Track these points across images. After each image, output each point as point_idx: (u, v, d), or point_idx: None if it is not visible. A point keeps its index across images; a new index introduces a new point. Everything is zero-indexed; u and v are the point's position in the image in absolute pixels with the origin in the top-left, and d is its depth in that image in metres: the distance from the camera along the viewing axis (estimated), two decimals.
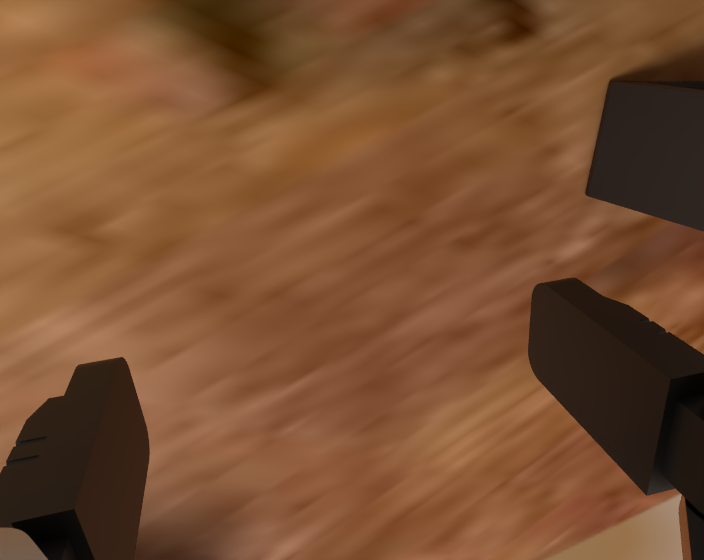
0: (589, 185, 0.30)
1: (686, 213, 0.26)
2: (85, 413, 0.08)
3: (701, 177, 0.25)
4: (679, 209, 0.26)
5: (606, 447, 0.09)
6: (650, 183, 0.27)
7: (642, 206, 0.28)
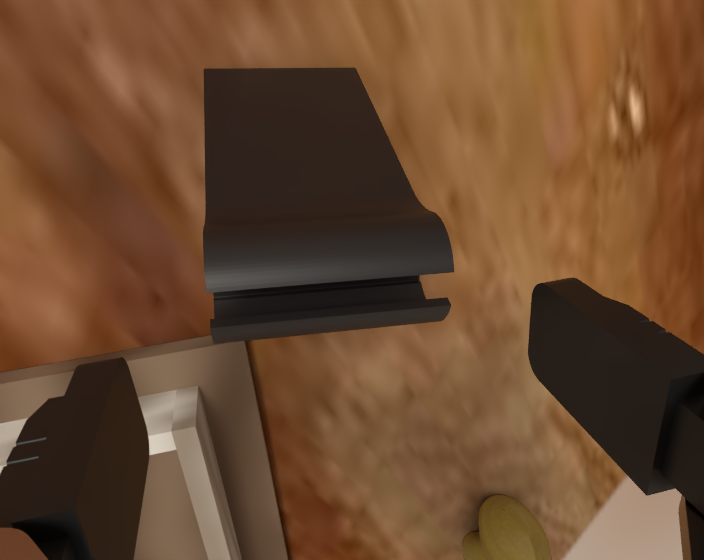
0: None
1: (223, 139, 0.17)
2: (85, 413, 0.08)
3: (280, 140, 0.18)
4: (226, 133, 0.18)
5: (606, 447, 0.09)
6: (249, 108, 0.19)
7: (213, 107, 0.19)
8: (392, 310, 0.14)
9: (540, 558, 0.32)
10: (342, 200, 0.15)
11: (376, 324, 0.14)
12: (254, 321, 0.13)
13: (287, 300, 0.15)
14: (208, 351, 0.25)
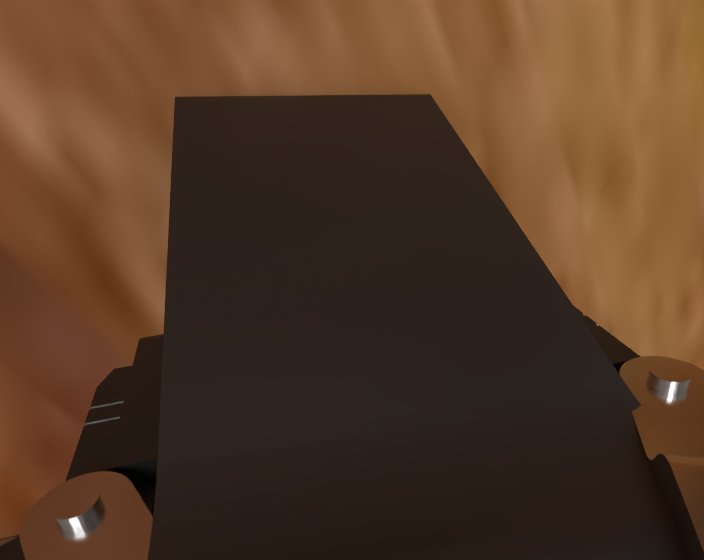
0: None
1: (206, 252, 0.08)
2: (156, 378, 0.09)
3: (322, 251, 0.09)
4: (212, 236, 0.09)
5: None
6: (258, 176, 0.10)
7: (189, 175, 0.10)
8: None
9: None
10: (485, 429, 0.07)
11: None
12: None
13: None
14: None
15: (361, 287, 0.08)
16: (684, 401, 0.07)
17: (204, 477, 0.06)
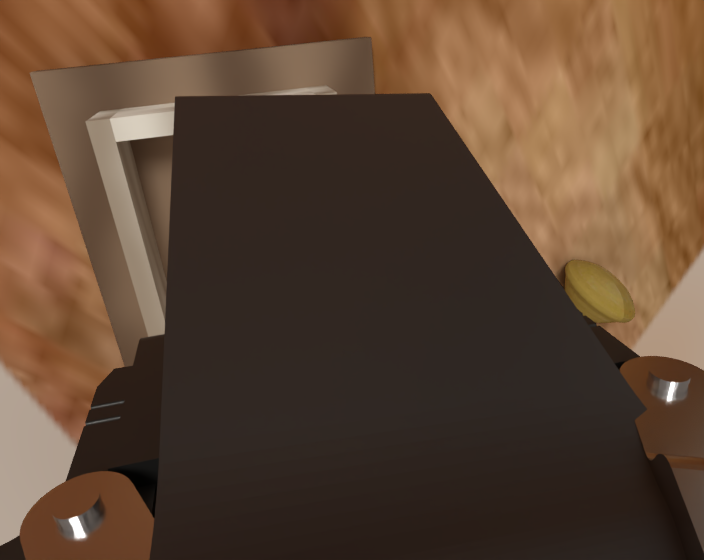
0: (202, 96, 0.12)
1: (207, 251, 0.08)
2: (156, 378, 0.09)
3: (323, 250, 0.09)
4: (212, 236, 0.09)
5: None
6: (257, 175, 0.10)
7: (189, 174, 0.10)
8: None
9: (627, 301, 0.34)
10: (487, 427, 0.07)
11: None
12: None
13: None
14: (338, 46, 0.27)
15: (362, 286, 0.08)
16: (684, 401, 0.07)
17: (205, 477, 0.06)
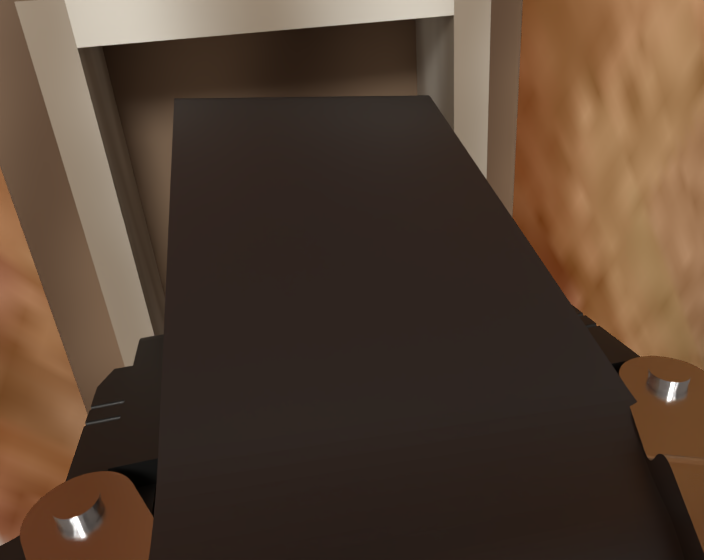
0: (201, 98, 0.12)
1: (206, 254, 0.08)
2: (156, 378, 0.09)
3: (322, 253, 0.09)
4: (211, 239, 0.09)
5: None
6: (256, 178, 0.10)
7: (188, 177, 0.10)
8: None
9: None
10: (485, 431, 0.07)
11: None
12: None
13: None
14: None
15: (361, 289, 0.08)
16: (684, 401, 0.07)
17: (204, 481, 0.06)
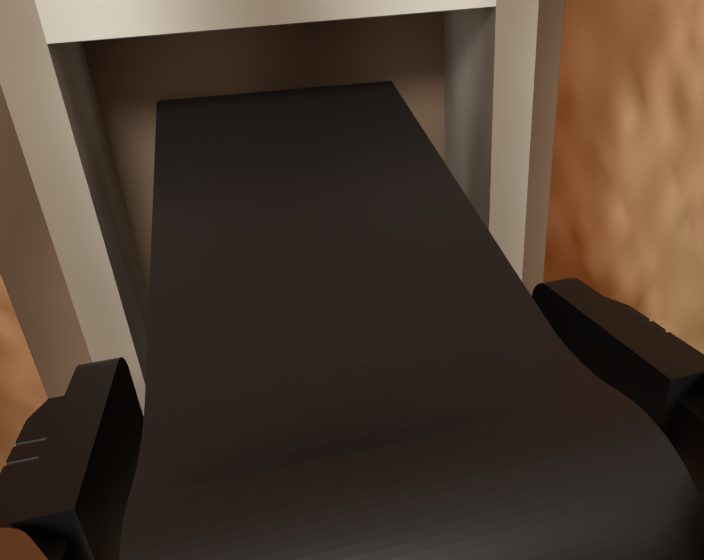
0: None
1: (185, 234, 0.10)
2: (85, 413, 0.08)
3: (286, 227, 0.10)
4: (190, 220, 0.10)
5: None
6: (230, 166, 0.11)
7: (169, 169, 0.11)
8: None
9: None
10: (420, 362, 0.08)
11: None
12: None
13: None
14: None
15: (319, 255, 0.09)
16: None
17: (183, 411, 0.07)
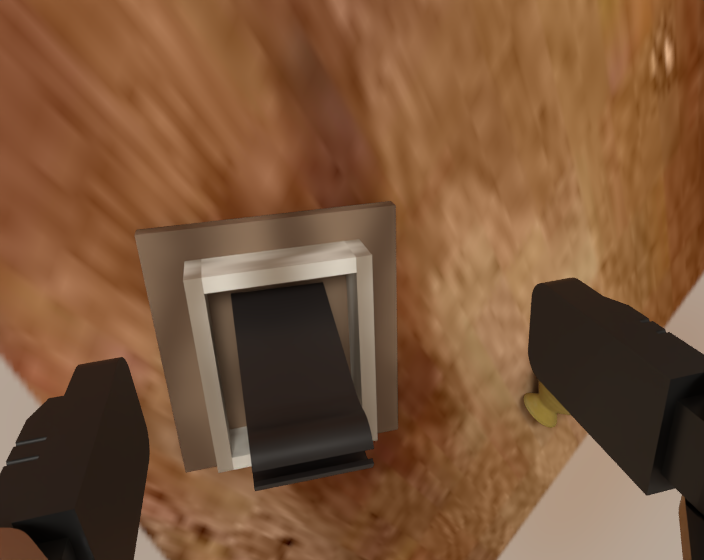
0: (240, 293, 0.35)
1: (249, 358, 0.31)
2: (85, 413, 0.08)
3: (281, 356, 0.31)
4: (250, 353, 0.31)
5: (607, 447, 0.09)
6: (261, 329, 0.32)
7: (240, 330, 0.32)
8: (343, 469, 0.27)
9: None
10: (317, 402, 0.29)
11: (336, 474, 0.27)
12: (275, 481, 0.26)
13: None
14: (370, 212, 0.35)
15: (291, 366, 0.31)
16: None
17: (255, 414, 0.28)
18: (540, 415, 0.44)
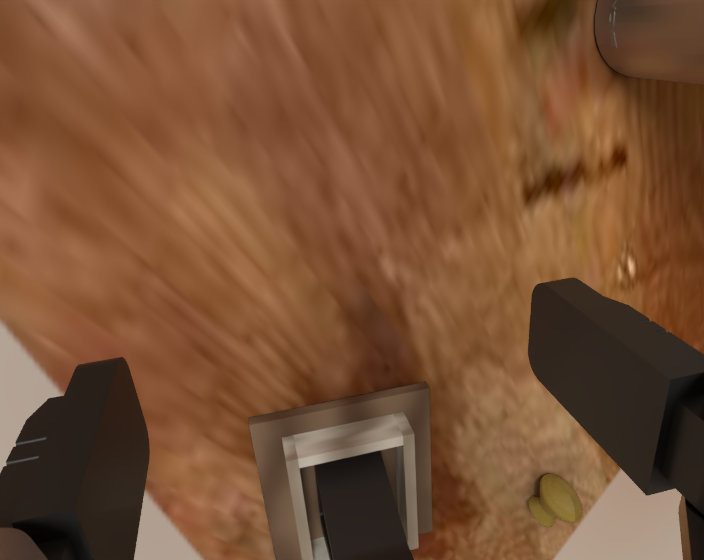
0: None
1: (331, 513, 0.45)
2: (85, 413, 0.08)
3: (353, 511, 0.45)
4: (332, 509, 0.45)
5: (606, 447, 0.09)
6: (337, 487, 0.46)
7: (323, 489, 0.46)
8: None
9: (577, 508, 0.55)
10: (381, 550, 0.43)
11: None
12: None
13: None
14: (411, 394, 0.49)
15: (361, 520, 0.45)
16: None
17: None
18: (541, 518, 0.57)
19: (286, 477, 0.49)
